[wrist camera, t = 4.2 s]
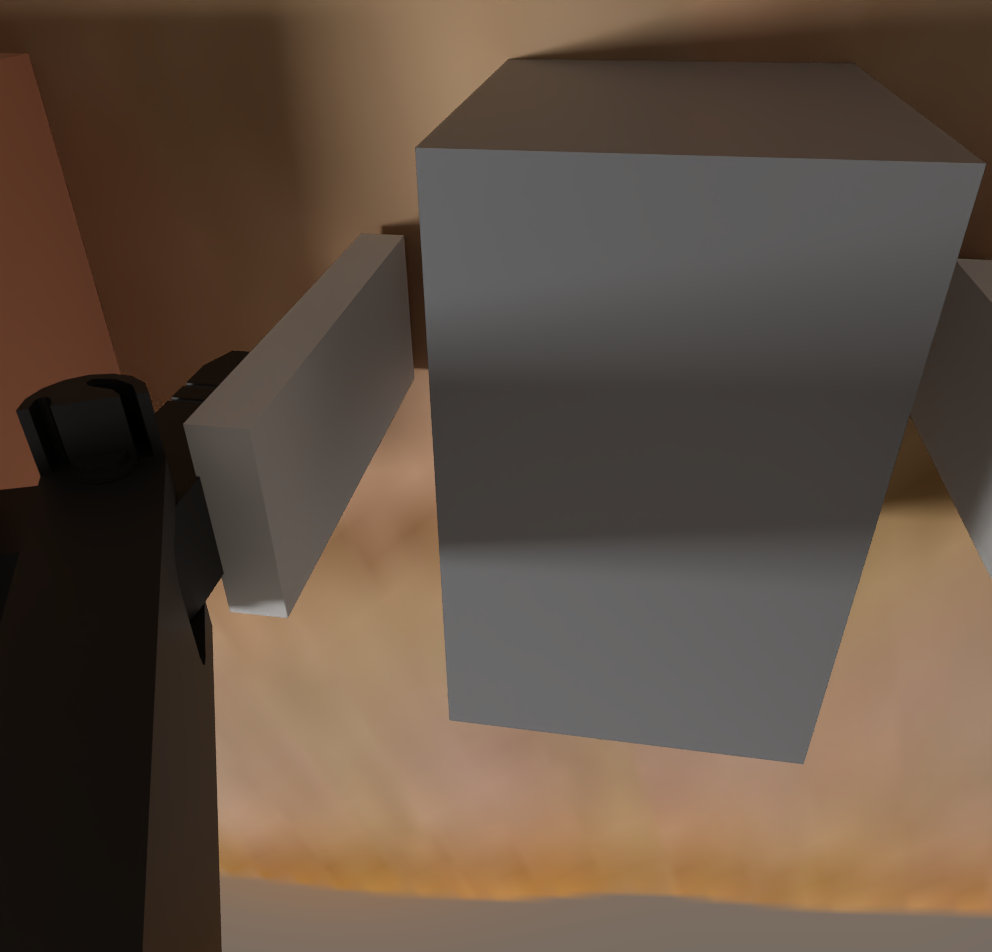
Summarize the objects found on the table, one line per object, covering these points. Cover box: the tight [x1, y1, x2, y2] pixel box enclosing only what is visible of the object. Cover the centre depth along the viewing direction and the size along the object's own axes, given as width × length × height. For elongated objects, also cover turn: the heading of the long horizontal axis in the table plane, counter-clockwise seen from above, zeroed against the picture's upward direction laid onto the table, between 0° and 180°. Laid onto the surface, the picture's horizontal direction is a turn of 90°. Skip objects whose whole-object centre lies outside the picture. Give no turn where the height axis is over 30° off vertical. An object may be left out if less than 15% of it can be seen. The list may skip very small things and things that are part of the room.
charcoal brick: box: [415, 59, 986, 764], centre depth 12 cm, size 5×8×6 cm, turn 0°
